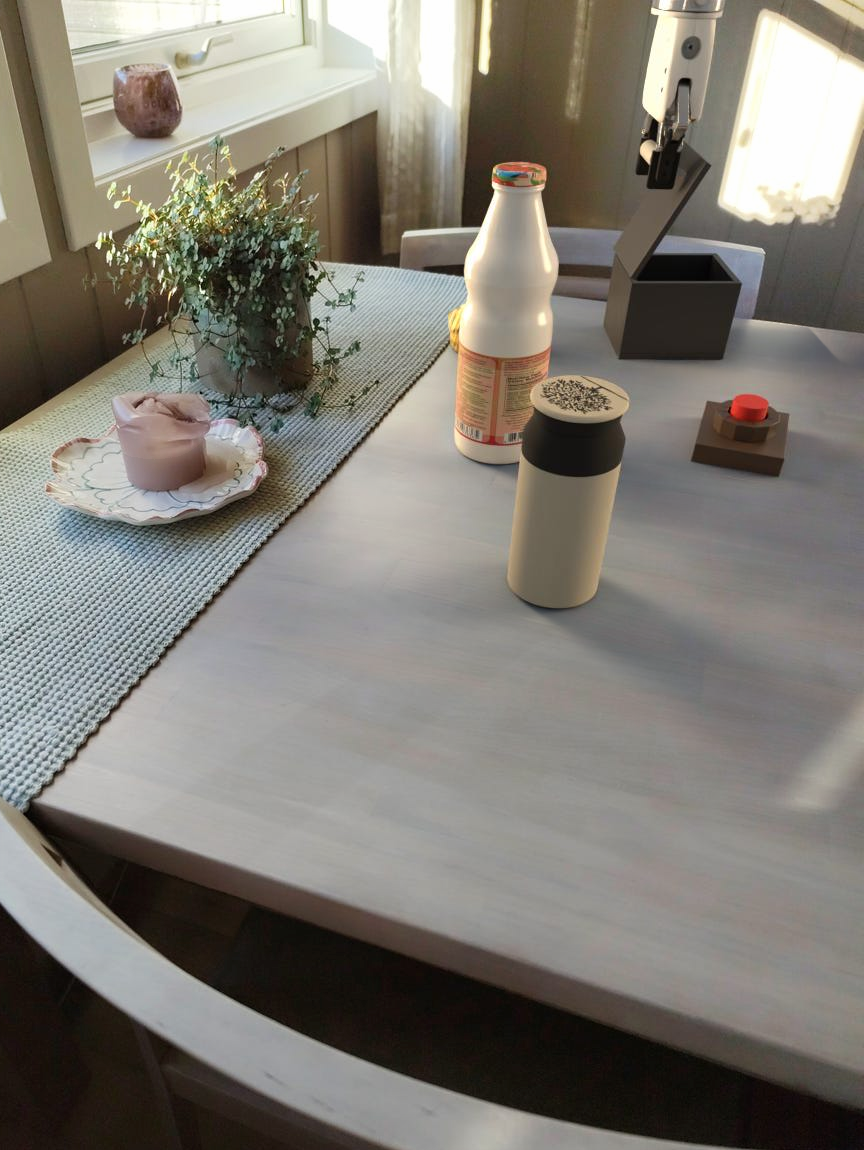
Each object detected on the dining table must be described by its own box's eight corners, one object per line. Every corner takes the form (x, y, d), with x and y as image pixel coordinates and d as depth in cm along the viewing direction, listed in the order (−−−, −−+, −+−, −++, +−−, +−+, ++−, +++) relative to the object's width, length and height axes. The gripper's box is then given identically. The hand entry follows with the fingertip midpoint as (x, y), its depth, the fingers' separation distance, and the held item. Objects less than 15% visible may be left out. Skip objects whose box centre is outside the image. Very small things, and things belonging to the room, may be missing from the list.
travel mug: (538, 621, 76) (565, 428, 64) (490, 571, 82) (507, 384, 70) (615, 596, 79) (655, 406, 67) (563, 549, 84) (592, 366, 72)
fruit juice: (443, 458, 97) (455, 176, 79) (465, 420, 104) (482, 152, 86) (529, 472, 95) (562, 184, 77) (546, 432, 102) (580, 159, 83)
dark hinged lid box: (700, 325, 125) (716, 253, 119) (723, 359, 117) (742, 283, 110) (603, 325, 126) (614, 252, 119) (618, 359, 117) (631, 283, 110)
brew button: (731, 406, 99) (735, 391, 97) (765, 411, 98) (770, 396, 96) (728, 420, 96) (732, 405, 95) (763, 426, 95) (767, 411, 94)
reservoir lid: (686, 142, 111) (648, 118, 109) (712, 165, 102) (671, 140, 100) (617, 250, 119) (581, 230, 117) (635, 280, 110) (596, 259, 109)
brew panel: (702, 417, 104) (710, 385, 102) (784, 431, 102) (794, 398, 99) (690, 461, 97) (699, 428, 94) (778, 477, 94) (789, 443, 91)
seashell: (503, 380, 122) (524, 323, 121) (502, 365, 115) (524, 305, 114) (436, 357, 123) (457, 301, 122) (431, 342, 116) (453, 282, 115)
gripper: (747, 8, 90) (702, 202, 102) (703, -9, 103) (667, 164, 115) (673, 6, 90) (636, 200, 102) (638, -11, 103) (609, 163, 115)
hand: (653, 179), depth 108 cm, fingers closed on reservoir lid, 5 cm apart
